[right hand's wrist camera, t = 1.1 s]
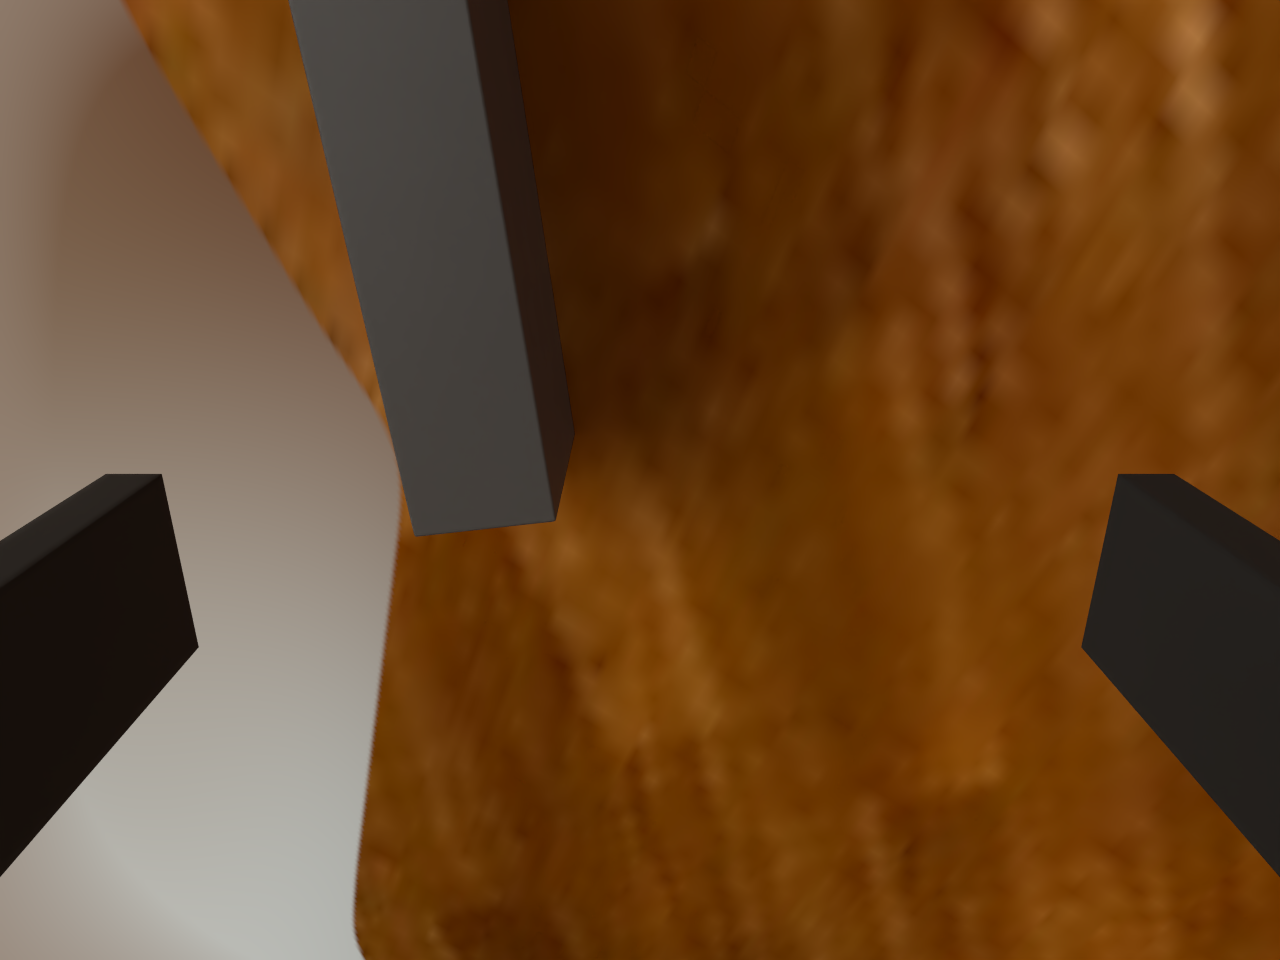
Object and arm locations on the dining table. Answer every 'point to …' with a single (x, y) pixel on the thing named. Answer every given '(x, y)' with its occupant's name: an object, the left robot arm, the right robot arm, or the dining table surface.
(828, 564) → the dining table surface
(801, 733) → the dining table surface
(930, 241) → the dining table surface
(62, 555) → the right robot arm
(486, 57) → the bar
